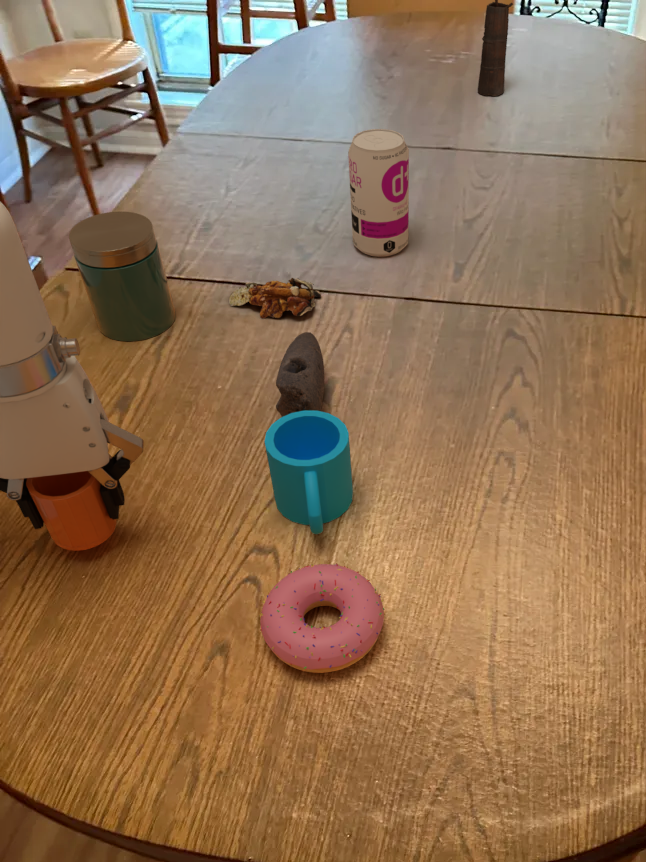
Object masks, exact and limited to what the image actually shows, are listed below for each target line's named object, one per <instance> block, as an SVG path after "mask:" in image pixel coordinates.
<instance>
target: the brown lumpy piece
mask: <svg viewBox="0 0 646 862" xmlns="http://www.w3.org/2000/svg"><path fill="white" fill-rule="evenodd" d="M287 281H288V282H287V283H286V282H283V281H279V280H270V281H266V282H265V284H263V285H259V284H258V283H257V282H246V283H245V287H243V286H239V287H237V288H236V290H234V291H232V292H231V293H230V295H229V300H228V305H229V306H230V307H234V306H238V307H241V306H243V305H245V304H246V303H248V302H249V304H250V305H252V306H259V307H261V308H260V312H259V317H260V318H261V319H266V318H267V317H270V318H275V319H280V318H282V316H283V313H284V312H285V311H291V313H292V314H293V316H296V317H301V316H303V315H304V314H306V313H307V312H310V311H311V312H312V310H313V308H314V307H316V303H315V297H317V298H321V297H322V294H321V292H320V291H319V290H314V285H315V283H313V282H311V281H310V282H309V281H306V280H301V279H300V278H299V277H296V278H295V277H291V278H289V280H287ZM303 286H304V287H306V288H307V289H306V288H303Z"/></svg>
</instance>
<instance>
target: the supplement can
mask: <svg viewBox="0 0 646 862" xmlns="http://www.w3.org/2000/svg"><path fill="white" fill-rule="evenodd" d="M347 152H348V153H347V155H348V158H347V159H348V173H349V174H348V175H349V193H350V214H351V233H352V243H353V244H354V247H355V248H356V249H358V250H359V251H360V252H361V253H362V254H365V255H367V256H372V257H378V258H380V257H381V258H382V257H389V256H394V255H396V254H398V253H401V252H402V250H403V249H404V248H406V246H407V245H408V244H409V227H410V225H409V223H410V221H409V217H410V216H409V215H410V214H409V207H410V206H409V204H410V202H409V201H410V200H409V199H410V198H409V192H410V191H409V190H410V187H409V185H410V183H409V181H410V180H409V179H410V175H409V174H410V149H409V147H408V145H407V143H406V142H405V137H404V136H403V134H402V133H400V132H397V131H395V130H392V129H386V128H371V129H365V130H362V131H360V132H357V133H356V134H355V135H354V136H353V137H352V140H351V143H350V146H349V149H348V151H347Z"/></svg>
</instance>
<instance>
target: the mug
mask: <svg viewBox="0 0 646 862" xmlns="http://www.w3.org/2000/svg"><path fill="white" fill-rule="evenodd" d="M264 447H265V452H266V459H267V465H268V469H269V470H268V471H269V475H270V480H271V487H272V492H273V498H274V502H275V505H276V509H277V510H278V512H279V513H280V514H281V515H282V517H284V518H286V519H287V520H289V521H290V522H292V523H297V524H300V525H303V526H309V529H310V532H311V533H312V534H313V535H319V534H322V533H324V524H327V523H331V522H332V521H334V520H336V519H338V518H341V516H342V515H343V514H345V513H346V512H347V511H348V510H349V508H350V506H351V504H352V502H353V496H354V486H353V473H352V459H351V446H350V433H349V430H348V428H347V425H346V424H345V423H344V422H343V421H342V420H341V419H340V418H339V417H338V416H335V415H334V414H331V413H329V412H325V411H322V410H321V411H308V410H304V411H299V412H294V413H290V414H288V415H286V416H283V417H282V416H281V417H279V418H278V419H277V420H275V421H274V422H273V423H271V425H270V426H269V427H268V429H267V431H266V432H265V438H264Z"/></svg>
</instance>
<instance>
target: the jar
mask: <svg viewBox="0 0 646 862" xmlns="http://www.w3.org/2000/svg"><path fill="white" fill-rule="evenodd" d="M73 257H74V260H75V264H76V266H77V269H78V272H79V275H80V277H81V281H82V284H83V287H84V289H85V293H86V296H87V298H88V302H89V304H90V307H91V310H92V313H93V316H94V319H95V322H96V324H97V327H98V330H99V331H100V333H101V334H102V335H103V336H105V337H106V338H108V339H111V340H114V341H120V342H139V341H144V340H149V339H151V338H154V337H157V336H158V335H161V334H162V333H165V332H166V331H167V330H168V329H169V328H170V327H172V325H173V324H174V322H175V320H176V309H175V306H174V302H173V298H172V295H171V294H172V293H171V290H170V285H169V282H168V278H167V274H166V270H165V266H164V262H163V257H162V254H161V250H160V246H159V242H158V240H157V239H156V247H155V249H154V250H153V252H152V253H151V254H149V255H148V256H147V257H145V258H144V259H142V260H140V261H137V262H135V263H132V264H129V265H125V266H120V267H112V268H100V267H92V266H88V265H86V264H83V263H81V262H80V261H79V260H78V259H77V258H76V257H75V255H74V254H73Z"/></svg>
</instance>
